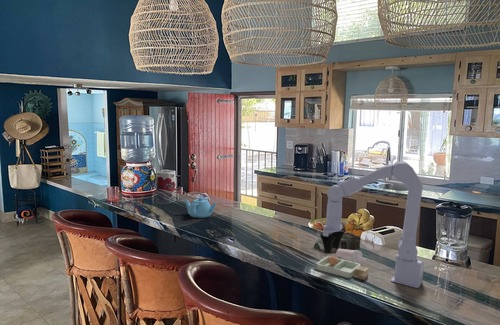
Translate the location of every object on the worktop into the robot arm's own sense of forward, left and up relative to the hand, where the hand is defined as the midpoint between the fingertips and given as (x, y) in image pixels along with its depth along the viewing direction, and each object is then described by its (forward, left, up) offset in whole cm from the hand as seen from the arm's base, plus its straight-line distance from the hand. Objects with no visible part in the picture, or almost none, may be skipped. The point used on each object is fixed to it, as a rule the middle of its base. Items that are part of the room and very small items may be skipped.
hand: (331, 250), depth 152 cm
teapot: (+94, -29, -8) cm, 99 cm away
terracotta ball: (0, -3, -7) cm, 7 cm away
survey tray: (-3, 0, -7) cm, 8 cm away
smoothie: (+2, -13, -5) cm, 14 cm away
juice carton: (+8, -27, -8) cm, 29 cm away
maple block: (-13, +1, -8) cm, 15 cm away
